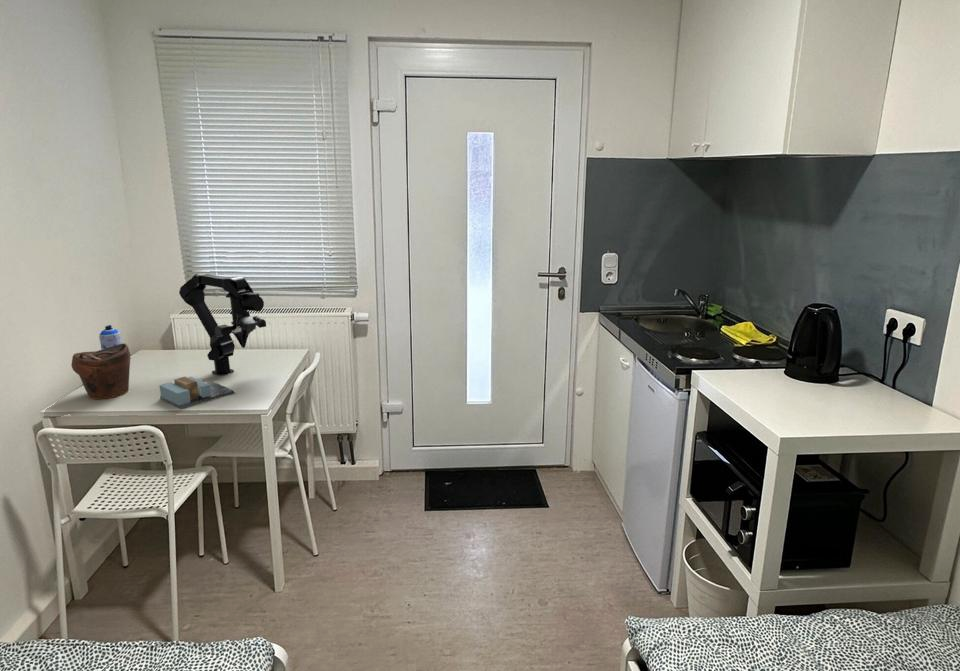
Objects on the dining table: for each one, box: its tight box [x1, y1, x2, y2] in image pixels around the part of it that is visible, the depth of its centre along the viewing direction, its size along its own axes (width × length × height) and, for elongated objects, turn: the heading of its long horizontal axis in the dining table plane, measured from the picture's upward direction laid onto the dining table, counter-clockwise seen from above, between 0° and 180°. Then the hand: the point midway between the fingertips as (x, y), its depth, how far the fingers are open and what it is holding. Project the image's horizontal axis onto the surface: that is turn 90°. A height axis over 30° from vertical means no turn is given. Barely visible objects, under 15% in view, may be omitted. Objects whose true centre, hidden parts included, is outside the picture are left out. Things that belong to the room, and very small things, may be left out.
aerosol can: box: [98, 324, 123, 350], centre depth 255 cm, size 8×8×20 cm
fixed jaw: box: [158, 381, 190, 406], centre depth 223 cm, size 14×4×4 cm, turn 50°
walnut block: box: [173, 376, 199, 400], centre depth 226 cm, size 4×9×6 cm, turn 50°
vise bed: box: [159, 381, 235, 410], centre depth 230 cm, size 16×20×1 cm
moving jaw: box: [187, 376, 211, 398], centre depth 229 cm, size 14×3×4 cm, turn 50°
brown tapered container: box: [71, 342, 132, 400], centre depth 231 cm, size 18×20×18 cm
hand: (243, 347), depth 249 cm, fingers closed
